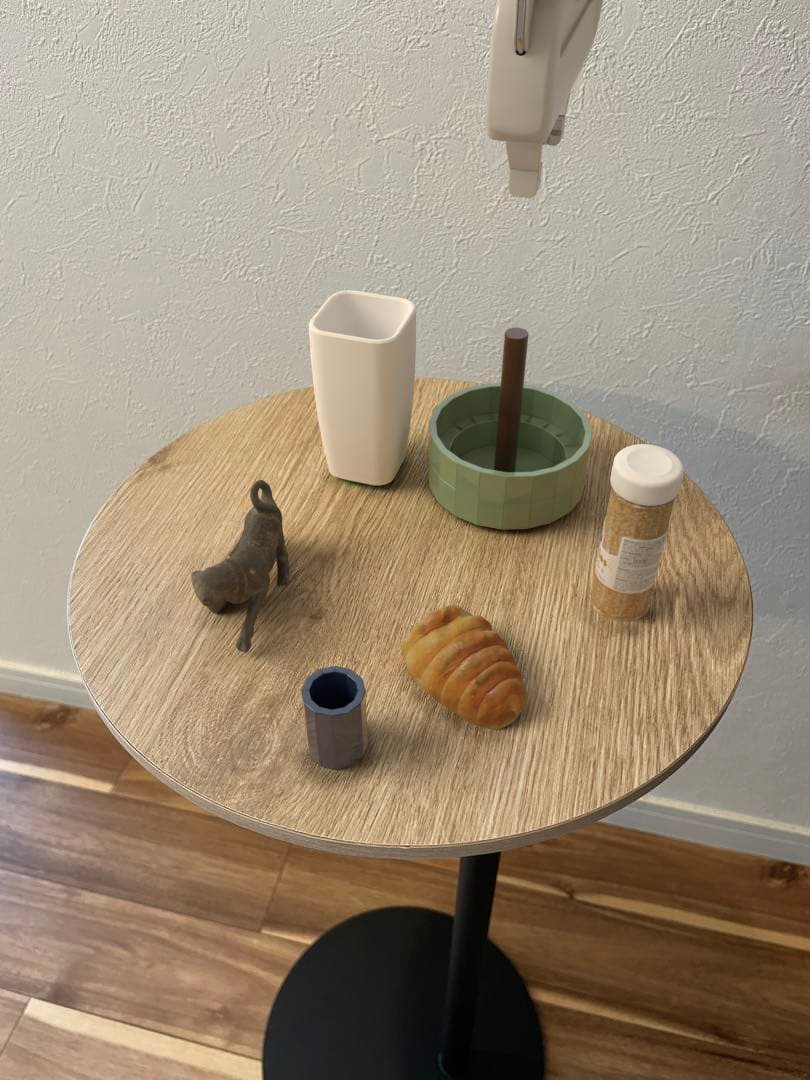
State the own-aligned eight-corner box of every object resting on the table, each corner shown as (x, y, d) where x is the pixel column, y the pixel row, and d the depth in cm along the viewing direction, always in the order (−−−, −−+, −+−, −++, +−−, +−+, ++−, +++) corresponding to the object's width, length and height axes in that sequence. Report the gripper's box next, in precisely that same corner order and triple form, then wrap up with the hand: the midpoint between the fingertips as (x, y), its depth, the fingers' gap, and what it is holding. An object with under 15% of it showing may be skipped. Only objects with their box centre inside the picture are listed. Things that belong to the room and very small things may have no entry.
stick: (516, 474, 83) (530, 328, 74) (512, 486, 82) (526, 340, 72) (495, 470, 83) (507, 325, 74) (491, 483, 82) (502, 337, 73)
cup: (394, 501, 81) (392, 345, 71) (313, 484, 83) (301, 329, 73) (420, 451, 86) (422, 300, 77) (343, 436, 88) (335, 286, 78)
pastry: (551, 706, 65) (556, 669, 63) (471, 754, 62) (473, 717, 60) (466, 622, 71) (468, 585, 68) (389, 663, 68) (389, 625, 65)
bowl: (592, 452, 86) (601, 395, 82) (570, 548, 77) (579, 489, 73) (448, 429, 89) (450, 372, 85) (410, 518, 80) (410, 460, 76)
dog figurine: (238, 542, 77) (227, 468, 72) (307, 553, 76) (300, 479, 71) (176, 651, 69) (158, 575, 64) (253, 666, 68) (241, 590, 63)
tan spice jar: (586, 582, 74) (611, 439, 65) (646, 586, 74) (680, 443, 65) (589, 626, 71) (616, 481, 62) (652, 630, 70) (689, 485, 61)
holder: (374, 733, 63) (372, 673, 59) (356, 780, 61) (353, 721, 57) (319, 720, 64) (314, 660, 60) (299, 767, 61) (292, 707, 57)
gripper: (588, -36, 47) (559, 235, 56) (631, -103, 62) (603, 120, 71) (462, -43, 49) (454, 223, 58) (534, -107, 63) (518, 113, 72)
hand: (537, 166), depth 65 cm, fingers open, 8 cm apart
